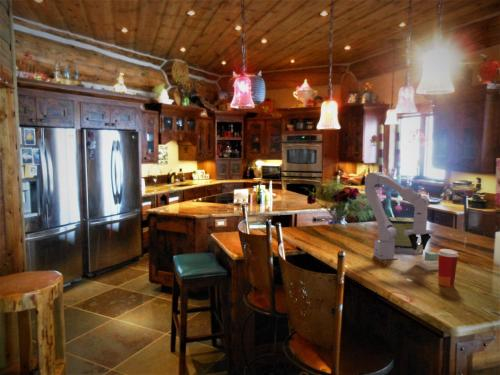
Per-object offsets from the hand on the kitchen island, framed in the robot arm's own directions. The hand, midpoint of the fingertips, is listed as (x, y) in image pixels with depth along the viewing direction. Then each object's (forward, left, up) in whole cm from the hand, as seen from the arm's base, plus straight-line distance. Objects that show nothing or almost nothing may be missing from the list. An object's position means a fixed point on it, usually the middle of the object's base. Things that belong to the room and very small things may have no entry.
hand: (418, 249), depth 185 cm
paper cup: (-5, -28, -7) cm, 29 cm away
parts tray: (+4, -7, -7) cm, 11 cm away
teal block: (+7, 0, -7) cm, 10 cm away
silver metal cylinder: (0, 0, -2) cm, 2 cm away
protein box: (+9, +31, -7) cm, 34 cm away
